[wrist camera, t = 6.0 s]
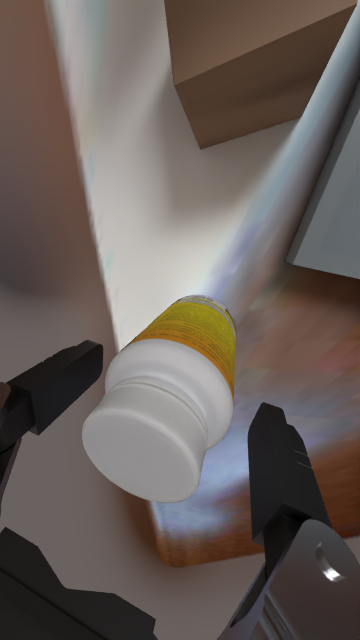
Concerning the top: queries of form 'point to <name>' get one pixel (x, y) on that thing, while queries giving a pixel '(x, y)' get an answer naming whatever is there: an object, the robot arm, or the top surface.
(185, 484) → the supplement bottle
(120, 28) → the top surface
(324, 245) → the tray
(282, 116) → the walnut block
